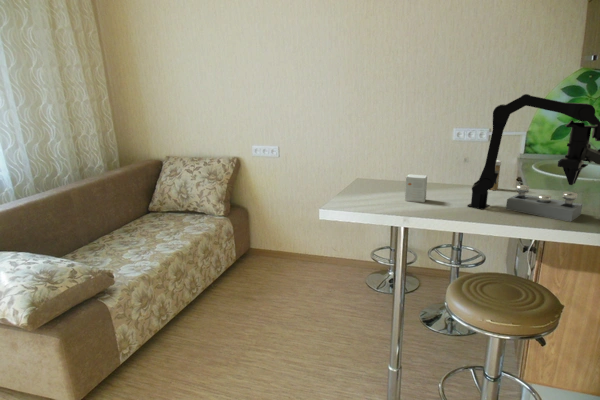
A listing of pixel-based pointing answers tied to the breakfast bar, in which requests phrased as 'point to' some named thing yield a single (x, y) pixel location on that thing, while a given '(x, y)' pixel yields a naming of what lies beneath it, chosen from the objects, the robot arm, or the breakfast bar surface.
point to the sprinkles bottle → (498, 175)
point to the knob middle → (544, 198)
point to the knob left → (522, 191)
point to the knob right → (569, 198)
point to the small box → (416, 188)
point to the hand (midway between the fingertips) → (571, 184)
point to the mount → (544, 207)
